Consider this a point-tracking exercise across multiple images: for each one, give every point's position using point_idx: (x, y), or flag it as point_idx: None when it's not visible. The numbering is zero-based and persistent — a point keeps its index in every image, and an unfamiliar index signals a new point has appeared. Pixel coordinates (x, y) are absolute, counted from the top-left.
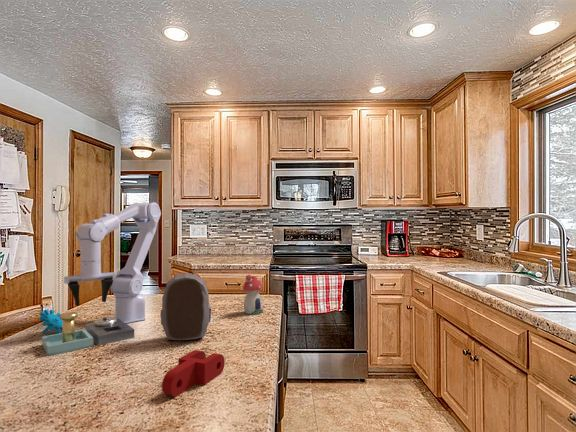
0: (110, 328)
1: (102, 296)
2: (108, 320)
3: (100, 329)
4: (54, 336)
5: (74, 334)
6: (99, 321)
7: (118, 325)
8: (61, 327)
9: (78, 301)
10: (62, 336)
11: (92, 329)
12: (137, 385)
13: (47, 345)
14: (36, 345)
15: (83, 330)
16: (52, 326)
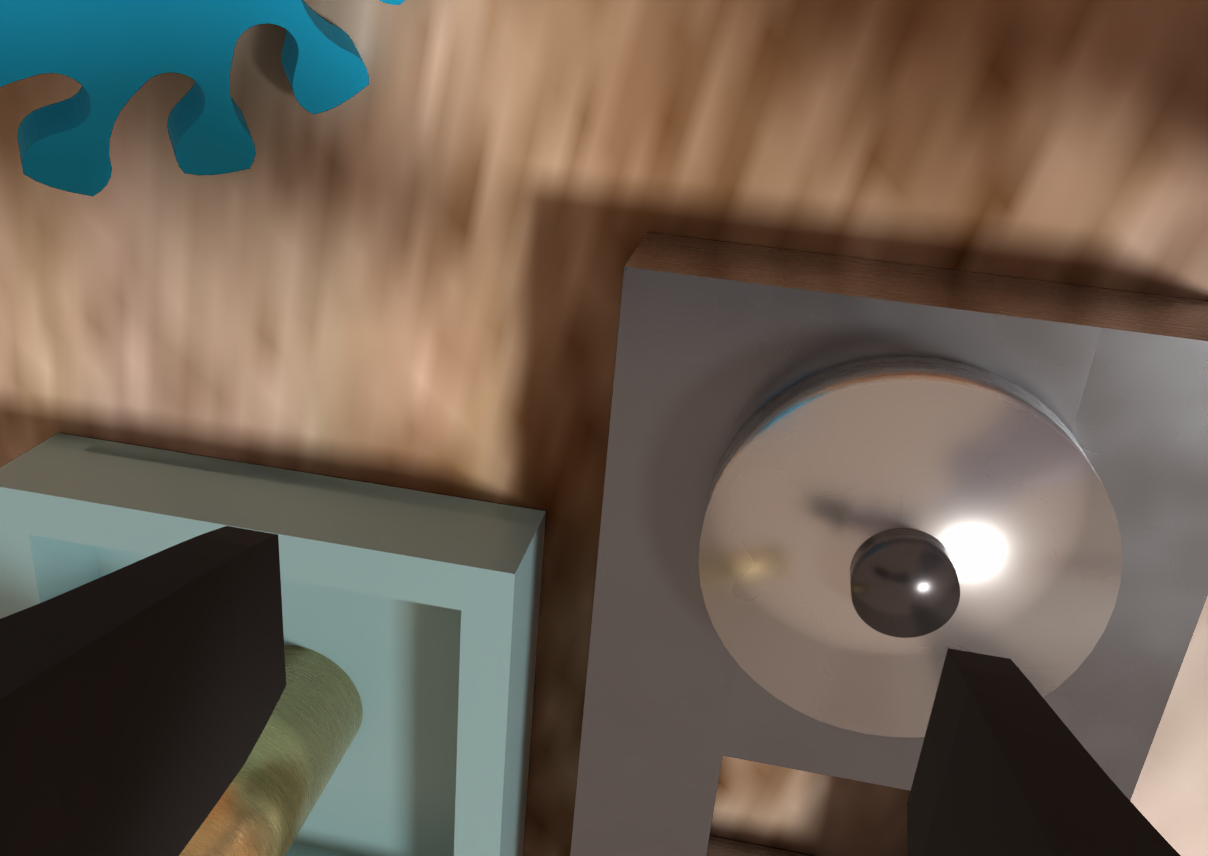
0: (844, 765)
1: (967, 798)
2: (917, 648)
3: (685, 769)
4: (127, 543)
5: (317, 798)
6: (769, 586)
7: None
8: (262, 23)
9: (204, 789)
10: None
11: (597, 686)
12: None
13: None
14: (2, 380)
15: (480, 636)
16: (73, 130)
